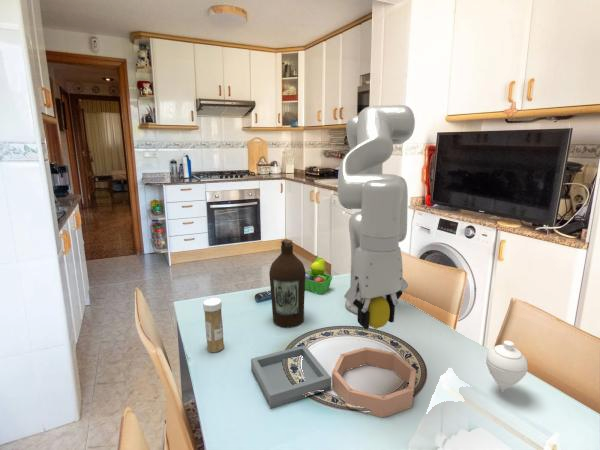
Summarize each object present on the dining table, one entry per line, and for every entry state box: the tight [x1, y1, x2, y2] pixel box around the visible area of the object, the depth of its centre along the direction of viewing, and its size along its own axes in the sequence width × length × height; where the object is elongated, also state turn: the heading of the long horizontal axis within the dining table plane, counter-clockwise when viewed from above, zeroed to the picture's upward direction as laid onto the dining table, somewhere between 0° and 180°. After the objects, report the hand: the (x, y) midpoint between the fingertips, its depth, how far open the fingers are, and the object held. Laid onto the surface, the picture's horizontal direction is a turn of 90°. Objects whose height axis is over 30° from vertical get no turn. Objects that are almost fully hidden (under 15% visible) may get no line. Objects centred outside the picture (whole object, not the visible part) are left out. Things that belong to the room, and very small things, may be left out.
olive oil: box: [268, 239, 306, 329], centre depth 108 cm, size 11×11×25 cm
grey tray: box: [250, 344, 332, 409], centre depth 83 cm, size 14×14×3 cm
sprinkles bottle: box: [202, 297, 225, 353], centre depth 95 cm, size 5×5×13 cm
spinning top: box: [485, 340, 529, 394], centre depth 77 cm, size 8×8×12 cm
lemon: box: [367, 296, 390, 330], centre depth 77 cm, size 6×6×8 cm
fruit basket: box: [305, 257, 333, 295], centre depth 132 cm, size 11×9×11 cm
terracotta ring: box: [331, 346, 417, 418], centre depth 80 cm, size 17×17×4 cm
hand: (375, 321), depth 78 cm, fingers closed on lemon, 5 cm apart
